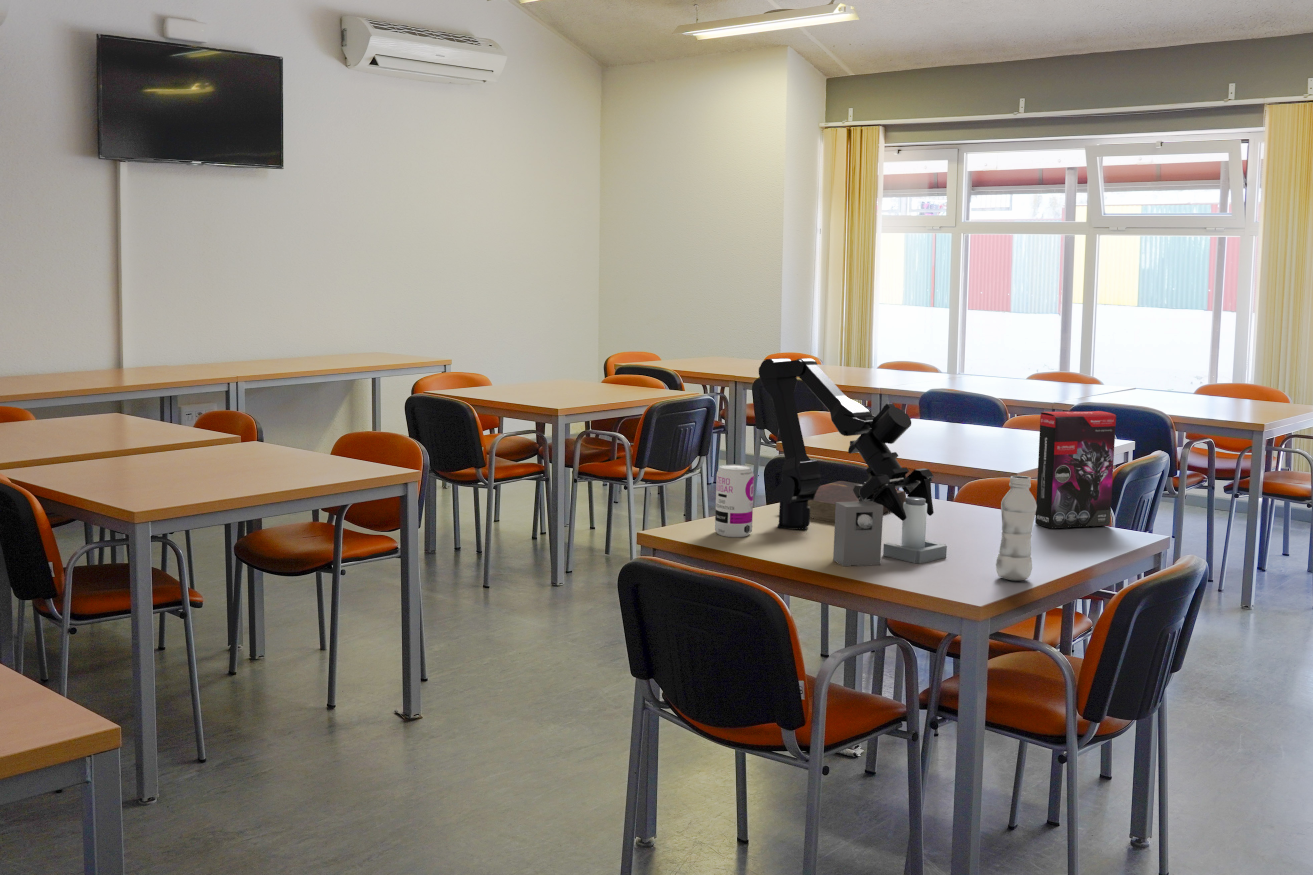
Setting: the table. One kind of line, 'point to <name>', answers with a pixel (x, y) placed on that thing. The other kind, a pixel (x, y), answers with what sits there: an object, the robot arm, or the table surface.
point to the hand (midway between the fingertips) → (918, 517)
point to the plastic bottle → (1016, 530)
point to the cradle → (916, 552)
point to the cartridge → (914, 523)
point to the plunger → (863, 520)
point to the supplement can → (734, 500)
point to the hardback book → (837, 499)
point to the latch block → (857, 534)
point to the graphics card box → (1075, 469)
